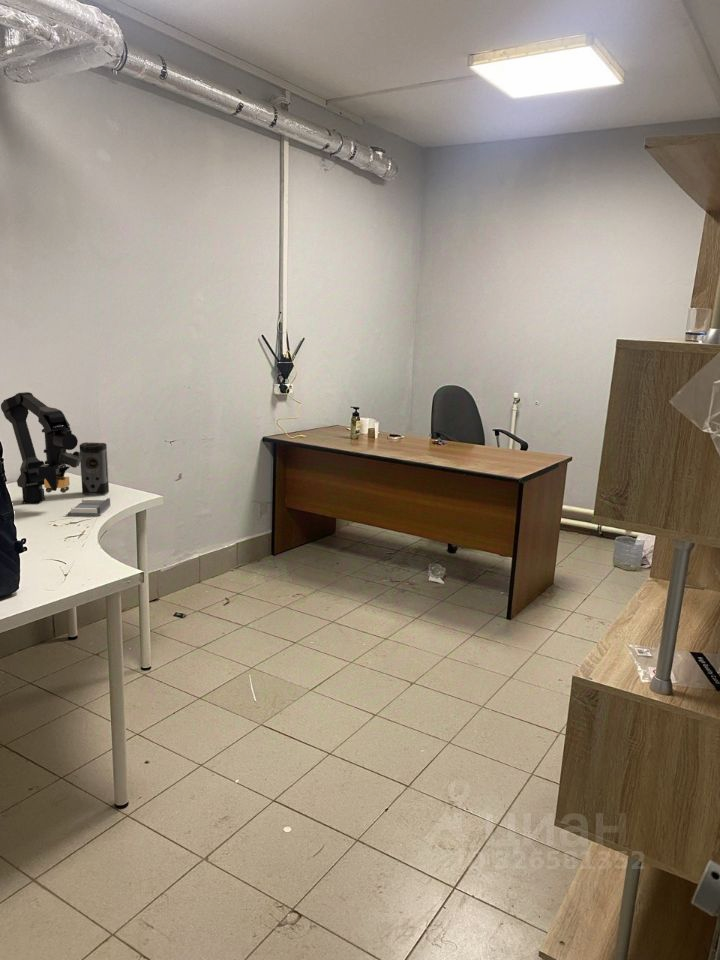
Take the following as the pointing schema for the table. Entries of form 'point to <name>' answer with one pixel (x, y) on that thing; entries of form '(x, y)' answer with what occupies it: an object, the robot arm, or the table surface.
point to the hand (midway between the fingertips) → (57, 488)
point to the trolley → (58, 484)
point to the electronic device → (94, 468)
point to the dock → (90, 507)
